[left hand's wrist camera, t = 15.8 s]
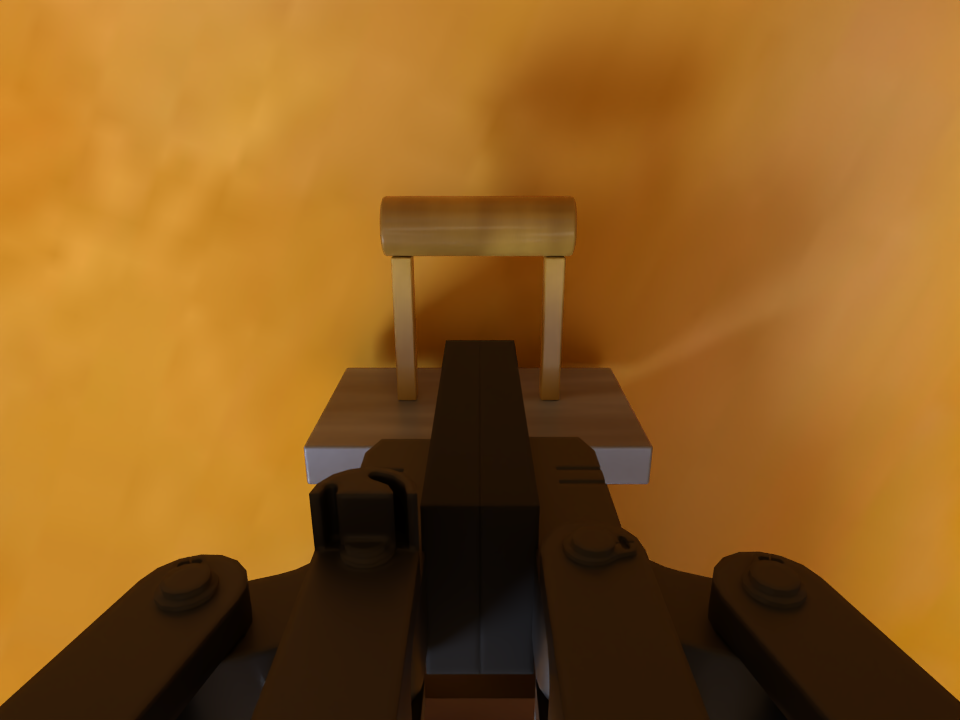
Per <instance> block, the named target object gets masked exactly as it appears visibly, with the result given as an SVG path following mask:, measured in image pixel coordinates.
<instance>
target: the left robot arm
mask: <svg viewBox="0 0 960 720" xmlns="http://www.w3.org/2000/svg"><path fill="white" fill-rule="evenodd" d="M309 498H310V507H311V517H312V527H313V536H314V546H315V552H314V554H313V557H312V560H311V562H310V563H309V564H307V565H305V566H303V567H300V568H298V569H296V570H293V571H289V572H286V573H282V574H279V575H274V576H269V577H265V578H260V579H255V580H251V581H248V579H247V572H246V570H245V569H244V567H243V566H242V565H241V564H240V563H239V562H238V561H237V560H234V559H231V558H229V557H226V556H223V555H197V556H192V557H186V558H182V559H178V560H176V561H173V562H171V563H169V564H166V565H164V566H161V567H159V568H157V569H156V570H154V571H153V572H151V573H150V574H148V575H147V576H146V577H144V578H143V579H141V580H140V581H139V582H137V583H136V584H135V585H134V586H133V587H132V588H131V589H130V590H129V591H127V592H126V593H125V594H124V595H123V596H122V597H121V598H120V599H119V600H117V601H116V602H115V603H114V604H113V605H112V606H111V607H110V608H109V609H108V610H106V611H105V612H104V613H103V614H102V615H101V616H100V617H99V618H98V619H96V620H95V621H94V622H93V623H92V624H91V625H90V626H89V627H88V628H86V629H85V630H84V631H83V632H82V633H81V634H80V635H79V636H78V637H77V638H75V639H74V640H73V641H72V642H71V643H70V644H69V645H68V646H67V647H65V648H64V649H63V650H62V651H61V652H60V653H59V654H58V655H57V656H56V657H54V658H53V659H52V660H51V661H50V662H49V663H48V664H47V665H46V666H44V667H43V668H42V669H41V670H40V671H39V672H38V673H37V674H36V675H34V676H33V677H32V678H31V679H30V680H29V681H28V682H27V683H26V684H25V685H23V686H22V687H21V688H20V689H19V690H18V691H17V692H16V693H15V694H13V695H12V696H11V697H10V698H9V699H8V700H7V701H6V702H5V703H3V704H2V705H1V706H0V720H424V717H425V685H424V676H425V666H426V674H534V663H535V673H536V685H535V711H534V720H960V702H959V701H958V700H957V699H956V698H955V697H954V696H953V695H952V694H951V693H949V692H948V691H947V690H946V689H945V688H944V687H943V686H942V685H940V684H939V683H938V682H937V681H936V680H935V679H934V678H933V677H932V676H930V675H929V674H928V673H927V672H926V671H925V670H924V669H923V668H922V667H920V666H919V665H918V664H917V663H916V662H915V661H914V660H913V659H911V658H910V657H909V656H908V655H907V654H906V653H905V652H904V651H903V650H901V649H900V648H899V647H898V646H897V645H896V644H895V643H894V642H893V641H891V640H890V639H889V638H888V637H887V636H886V635H885V634H884V633H882V632H881V631H880V630H879V629H878V628H877V627H876V626H875V625H874V624H872V623H871V622H870V621H869V620H868V619H867V618H866V617H865V616H864V615H862V614H861V613H860V612H859V611H858V610H857V609H856V608H855V607H853V606H852V605H851V604H850V603H849V602H848V601H847V600H846V599H845V598H843V597H842V596H841V595H840V594H839V593H838V592H837V591H836V590H834V589H833V588H832V587H831V586H830V585H829V584H828V583H827V582H826V581H824V580H823V579H822V578H821V577H820V576H818V575H817V574H815V573H814V572H812V571H811V570H809V569H808V568H806V567H805V566H804V565H802V564H799V563H797V562H794V561H792V560H789V559H787V558H785V557H782V556H778V555H774V554H768V553H763V552H738V553H735V554H732V555H729V556H726V557H723V558H722V559H721V560H720V562H719V563H718V564H717V565H716V566H715V567H714V572H713V578H709V577H704V576H699V575H695V574H690V573H685V572H681V571H677V570H674V569H670V568H667V567H664V566H661V565H659V564H657V563H655V562H653V561H650V560H649V559H648V556H647V553H646V551H645V549H644V547H643V546H642V545H641V543H640V542H639V540H638V539H637V538H636V537H635V536H633V535H632V534H630V533H629V532H628V531H626V530H625V529H623V528H622V527H621V524H620V521H619V519H618V516H617V513H616V510H615V507H614V504H613V501H612V498H611V496H610V493H609V490H608V487H607V484H605V478H604V476H603V473H602V470H600V464H599V461H598V458H597V456H596V453H595V450H593V449H592V448H591V447H590V446H589V445H587V444H586V443H585V442H584V441H583V440H581V439H580V438H579V437H529V434H528V427H527V421H526V414H525V408H524V402H523V395H522V389H521V382H520V376H519V369H518V363H517V357H516V350H515V344H514V340H446V344H445V350H444V357H443V363H442V369H441V376H440V382H439V389H438V395H437V402H436V408H435V414H434V421H433V427H432V434H431V439H381V440H380V441H379V442H378V443H376V444H375V445H374V446H373V447H372V448H370V449H369V450H368V451H367V452H366V453H365V455H364V458H363V461H362V464H361V467H360V468H354V469H349V470H346V471H342V472H339V473H336V474H333V475H331V476H329V477H327V478H326V479H324V480H322V481H321V482H319V483H318V484H317V485H316V486H315V487H314V488H313V490H312V491H311V492H310V493H309Z"/></svg>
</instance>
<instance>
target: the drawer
mask: <svg viewBox="0 0 960 720" xmlns="http://www.w3.org/2000/svg"><path fill="white" fill-rule="evenodd" d="M576 232H577V211H576V203H575V200H574V198H573V197H571V196H386V197H383V199H382V202H381V208H380V236H381V244H382V249H383V252H384V254H385V255H386V256H392V258H391V266H392V287H393V309H394V330H395V351H396V368H347V369H346V371H345V373H344V375H343V376H342V378H341V380H340V382H339V384H338V386H337V387H336V389H335V391H334V393H333V395H332V397H331V398H330V400H329V402H328V404H327V406H326V408H325V409H324V411H323V413H322V415H321V417H320V419H319V421H318V422H317V424H316V426H315V428H314V430H313V432H312V433H311V435H310V437H309V439H308V441H307V443H306V444H305V446H304V453H305V463H306V473H307V481H308V483H309V484H318V483H319V482H321V481H322V480H324V479H326V478H327V477H329V476H331V475H333V474H336V473H339V472H342V471H346V470H349V469H354V468H360V467H361V464H362V461H363V458H364V455H365V453H366V452H367V451H368V450H369V449H370V448H372V447H373V446H374V445H375V444H376V443H378V442H379V441H380V440H381V439H431V434H432V427H433V421H434V414H435V408H436V402H437V395H438V389H439V382H440V376H441V369H442V368H417V346H416V317H415V289H414V261H413V256H544V260H543V290H542V319H541V349H540V368H518V369H519V376H520V382H521V389H522V395H523V402H524V408H525V414H526V421H527V427H528V434H529V437H579V438H580V439H581V440H583V441H584V442H585V443H586V444H587V445H589V446H590V447H591V448H592V449H593V450H595V453H596V456H597V458H598V461H599V464H600V470H602V473H603V476H604V478H605V484H648V483H649V479H650V469H651V459H652V449H653V448H652V445H651V443H650V442H649V440H648V438H647V436H646V434H645V432H644V430H643V428H642V426H641V425H640V423H639V421H638V419H637V417H636V415H635V413H634V411H633V410H632V408H631V406H630V404H629V402H628V400H627V398H626V396H625V395H624V393H623V391H622V389H621V387H620V385H619V383H618V381H617V379H616V378H615V376H614V374H613V372H612V370H611V369H610V368H561V350H562V329H563V307H564V285H565V263H566V259H565V257H564V256H571V255H572V254H573V252H574V249H575V243H576ZM424 685H425V698H535V685H536V673H535V663H534V674H426V666H425V676H424Z"/></svg>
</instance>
